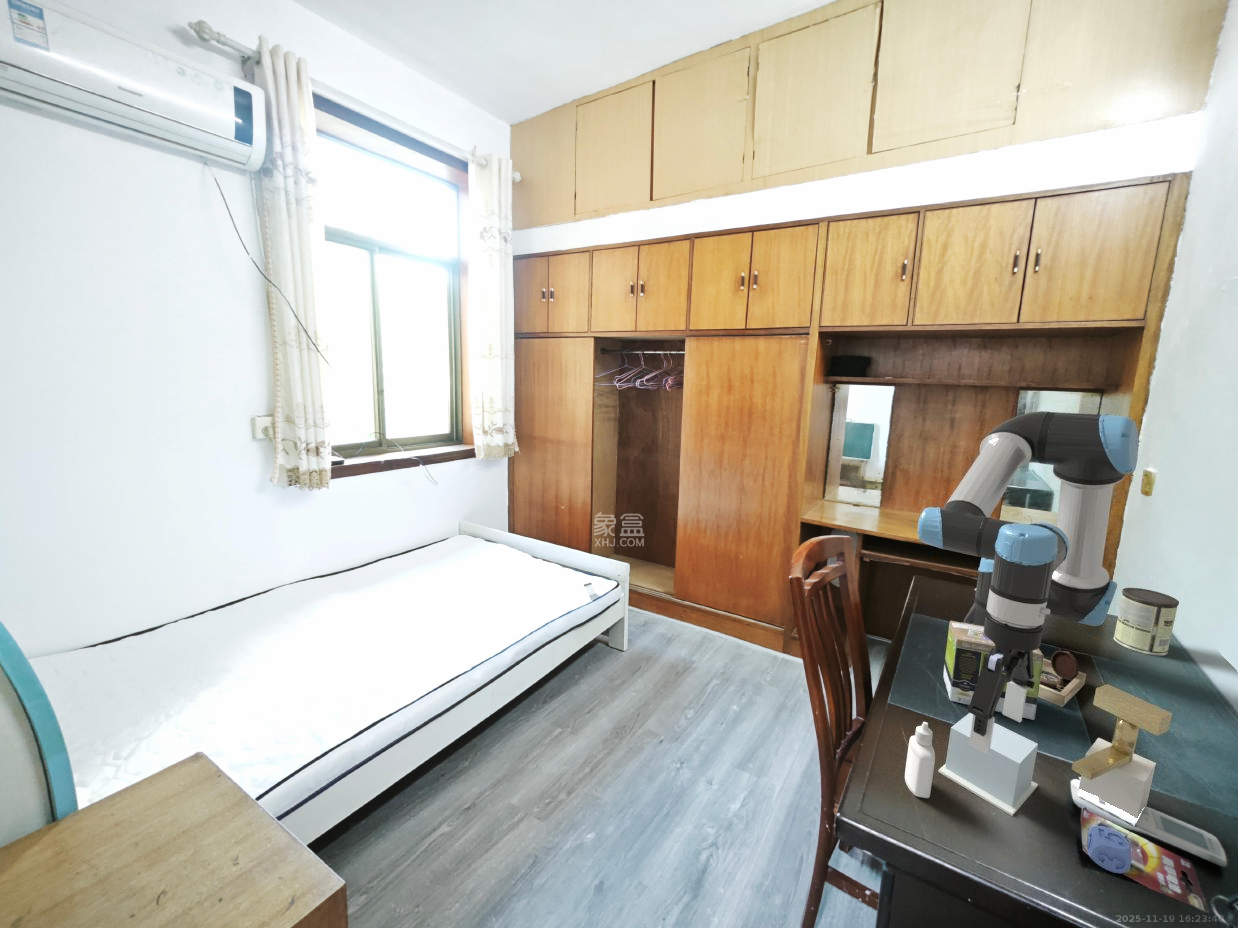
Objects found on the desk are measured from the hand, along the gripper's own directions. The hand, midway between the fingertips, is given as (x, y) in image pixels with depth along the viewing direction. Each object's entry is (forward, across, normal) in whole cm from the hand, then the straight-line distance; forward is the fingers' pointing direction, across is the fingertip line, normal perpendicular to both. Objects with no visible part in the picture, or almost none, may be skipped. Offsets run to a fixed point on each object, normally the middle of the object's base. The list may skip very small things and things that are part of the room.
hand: (996, 732), depth 88 cm
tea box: (+9, +25, +10) cm, 28 cm away
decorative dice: (+9, -4, -16) cm, 19 cm away
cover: (+8, -1, 0) cm, 8 cm away
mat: (+8, -1, 0) cm, 9 cm away
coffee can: (+10, +86, -3) cm, 87 cm away
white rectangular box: (+9, +11, -14) cm, 19 cm away
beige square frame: (+9, +43, +7) cm, 44 cm away
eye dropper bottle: (+8, -13, +6) cm, 17 cm away
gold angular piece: (0, +6, -13) cm, 14 cm away
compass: (+10, +45, +4) cm, 46 cm away
